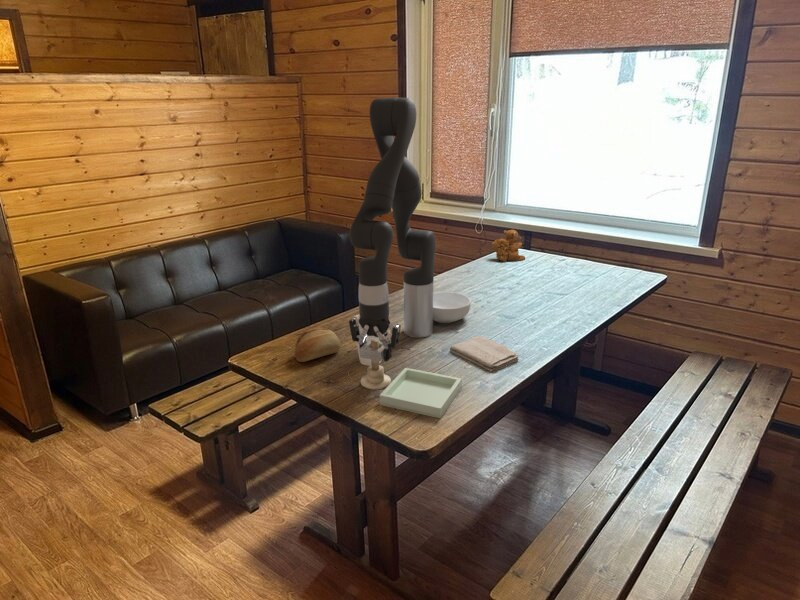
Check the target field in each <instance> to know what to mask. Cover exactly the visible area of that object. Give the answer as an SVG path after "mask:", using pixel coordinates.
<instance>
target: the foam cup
mask: <svg viewBox="0 0 800 600" xmlns="http://www.w3.org/2000/svg"><path fill="white" fill-rule="evenodd" d="M354 317H357V318H360V314H359V313H358V314H355V315H354V316H353V317H352V318H354ZM359 331H360V336H361V333H362V331H363V328H362V327H361V325H360V324H359ZM383 336H384V334H383ZM370 339H372V340H378V341H380V340H379V338H378V337H375V336H368V338H367V340H366V342H368V341H369V340H370ZM355 343H356V348H357V353H358V360H359V363H360V364H362V365H363V366H368V367H369V366H372V362H371V359H367V358H362V357H360V346H359V343H358V342H357V341H355ZM381 363H382V361H379V364H381Z"/></svg>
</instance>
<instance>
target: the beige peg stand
mask: <svg viewBox="0 0 800 600" xmlns="http://www.w3.org/2000/svg"><path fill="white" fill-rule="evenodd" d="M371 348H373V349H379V341H378V340H371ZM371 362H372V365H370V366H368V367H367V368H366V371H367V372H366V374H365V375H364V376H362V377H361V379H360V385H361V386H362V387H363V388H365V389H368V390H374V391H376V390H382V389H386V388H387V387H388V386H389V385H390V383H391V382H392V378H391V377H390V376H389V375H387V374H385V368H384V366H383V365H380V363H379V361H377V360H372V359H371Z"/></svg>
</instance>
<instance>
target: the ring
mask: <svg viewBox="0 0 800 600" xmlns="http://www.w3.org/2000/svg"><path fill="white" fill-rule="evenodd" d="M371 340H372V339H370V340H369V341H368V342H367V343H366V344H365V345H363V346H362V347H361V348H360V357H362V358H367V359H372V360H377V361H381V362H382V361H384V346H383V344H382V342H380V341H379V349H373V348H371Z"/></svg>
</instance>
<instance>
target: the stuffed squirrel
mask: <svg viewBox="0 0 800 600" xmlns="http://www.w3.org/2000/svg"><path fill="white" fill-rule="evenodd" d="M503 233H504V235H505V236H506V237H505V238H499V239H495V240H494V241H493V242H491V244H492V246H491V247H492V249H493V250H494V251H495V253H496V254H495V257H496V259H497V260H499V261H501V262H504V263H505V262H506V261H507V262H508V261H510V262H520V261H524V260H526V256H525V255H522V254H521V255H520V254H519V249H521V248H522V246H523V243H522V242H520V241H519V242H517V240H518V239H521V236H520V234H519V233H518V231H517V230H515V229H509V230H503Z"/></svg>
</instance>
